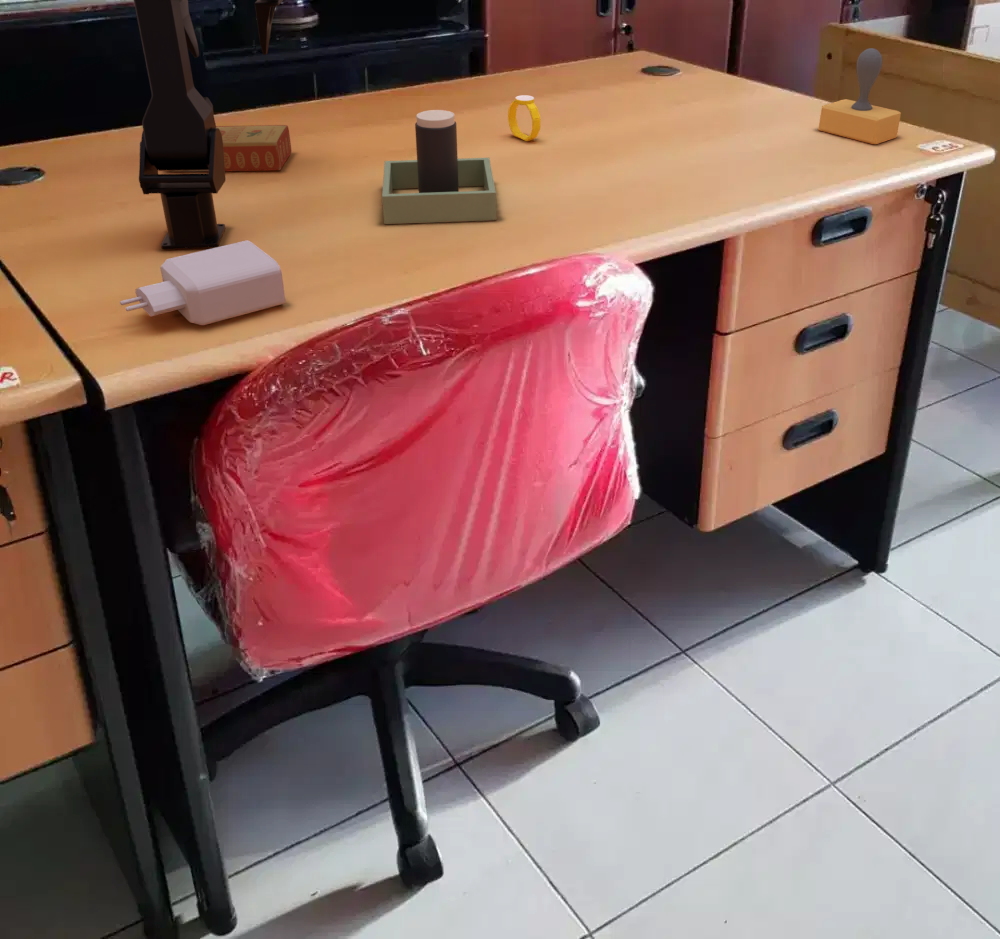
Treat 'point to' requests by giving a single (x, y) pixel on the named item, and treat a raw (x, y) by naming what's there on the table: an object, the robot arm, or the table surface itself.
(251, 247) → the charger
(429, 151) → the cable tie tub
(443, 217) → the box
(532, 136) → the watch
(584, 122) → the table surface
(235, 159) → the carton
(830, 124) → the rubber stamp
